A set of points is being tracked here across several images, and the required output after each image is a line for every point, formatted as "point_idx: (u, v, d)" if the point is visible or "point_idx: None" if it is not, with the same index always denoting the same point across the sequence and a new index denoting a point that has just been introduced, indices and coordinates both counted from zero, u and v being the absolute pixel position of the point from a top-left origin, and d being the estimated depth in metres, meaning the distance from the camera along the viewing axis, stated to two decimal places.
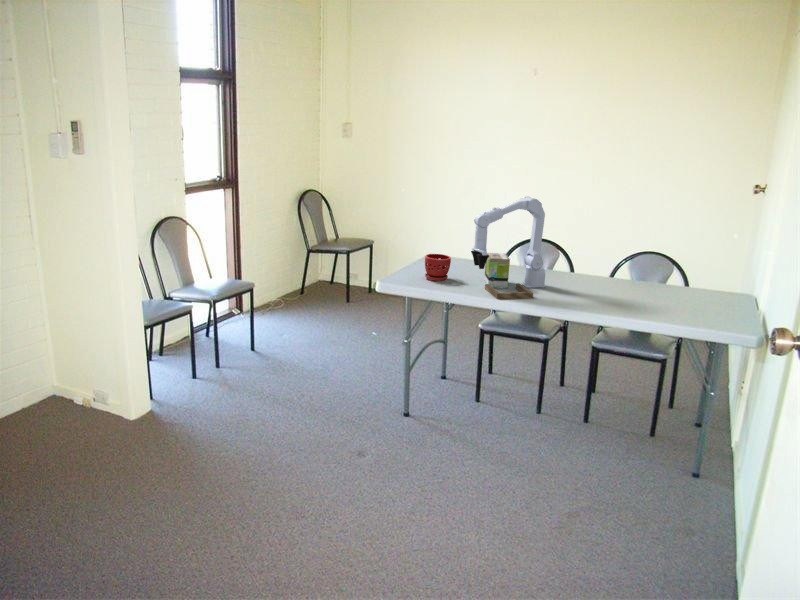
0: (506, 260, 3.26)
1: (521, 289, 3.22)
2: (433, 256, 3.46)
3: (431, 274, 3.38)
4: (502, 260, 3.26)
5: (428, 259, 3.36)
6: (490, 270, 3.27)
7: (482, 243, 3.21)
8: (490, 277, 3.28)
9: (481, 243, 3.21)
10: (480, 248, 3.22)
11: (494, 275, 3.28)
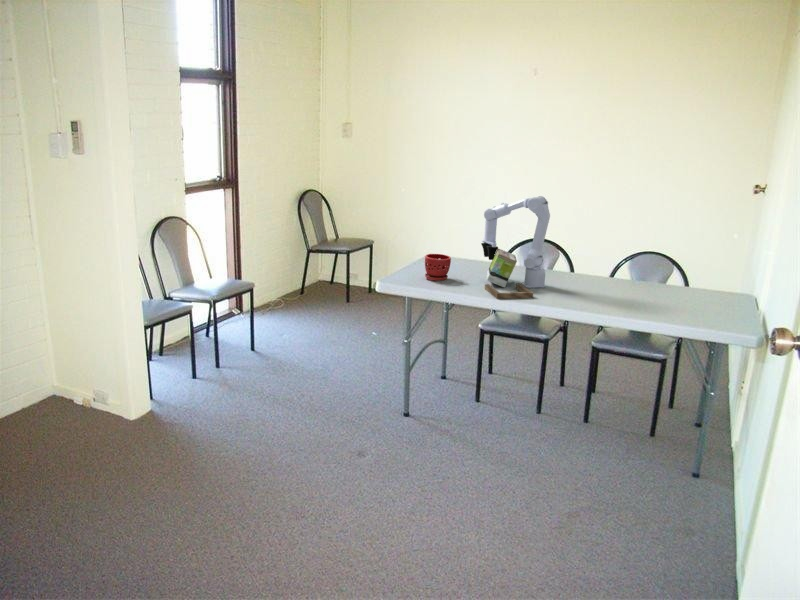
0: (513, 261, 3.26)
1: (521, 289, 3.22)
2: (433, 256, 3.46)
3: (431, 274, 3.38)
4: (509, 259, 3.26)
5: (428, 259, 3.36)
6: (494, 265, 3.27)
7: (492, 235, 3.40)
8: (492, 271, 3.28)
9: (490, 236, 3.40)
10: (490, 240, 3.41)
11: (496, 271, 3.28)
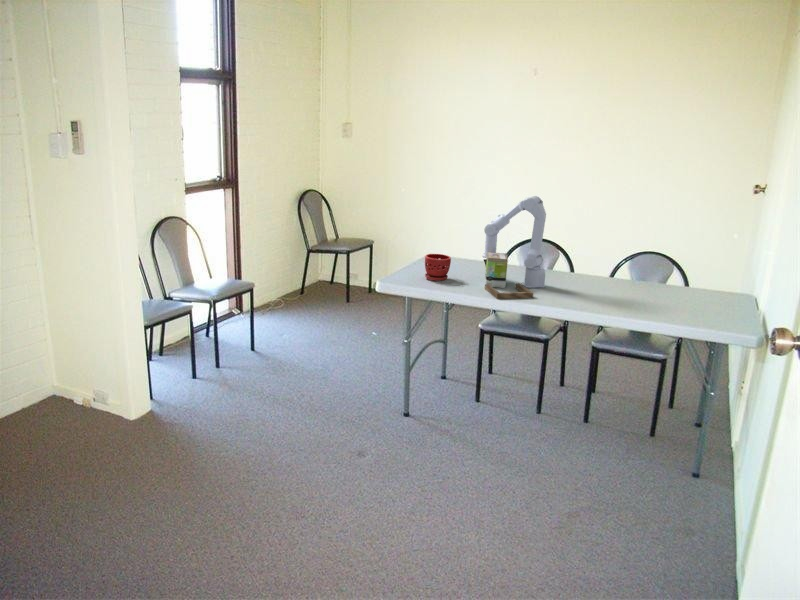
0: (504, 260, 3.26)
1: (521, 289, 3.22)
2: (433, 256, 3.46)
3: (431, 274, 3.38)
4: (500, 260, 3.26)
5: (428, 259, 3.36)
6: (488, 269, 3.28)
7: (492, 251, 3.40)
8: (488, 276, 3.29)
9: (491, 251, 3.40)
10: None
11: (492, 275, 3.28)
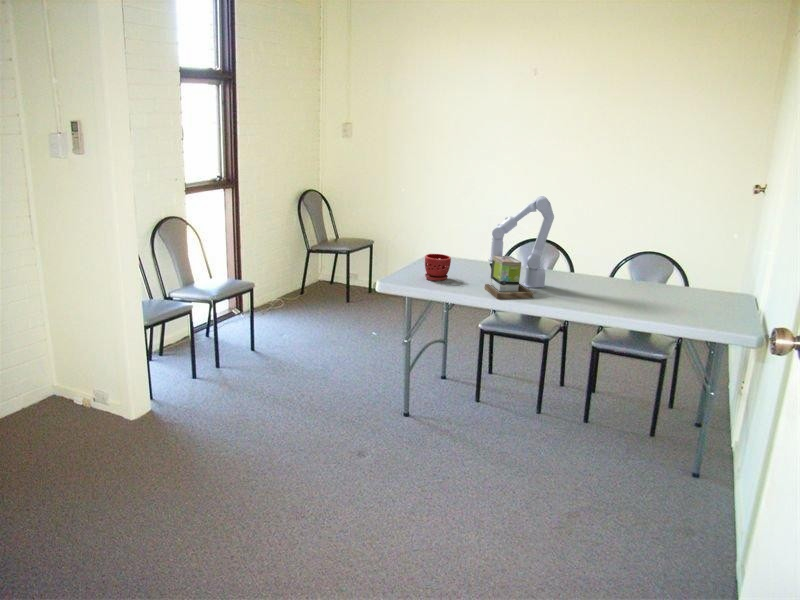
0: (518, 263, 3.19)
1: (521, 289, 3.22)
2: (433, 256, 3.46)
3: (431, 274, 3.38)
4: (514, 263, 3.19)
5: (428, 259, 3.36)
6: (502, 274, 3.19)
7: (498, 254, 3.31)
8: (502, 281, 3.20)
9: (497, 255, 3.31)
10: None
11: (506, 279, 3.20)
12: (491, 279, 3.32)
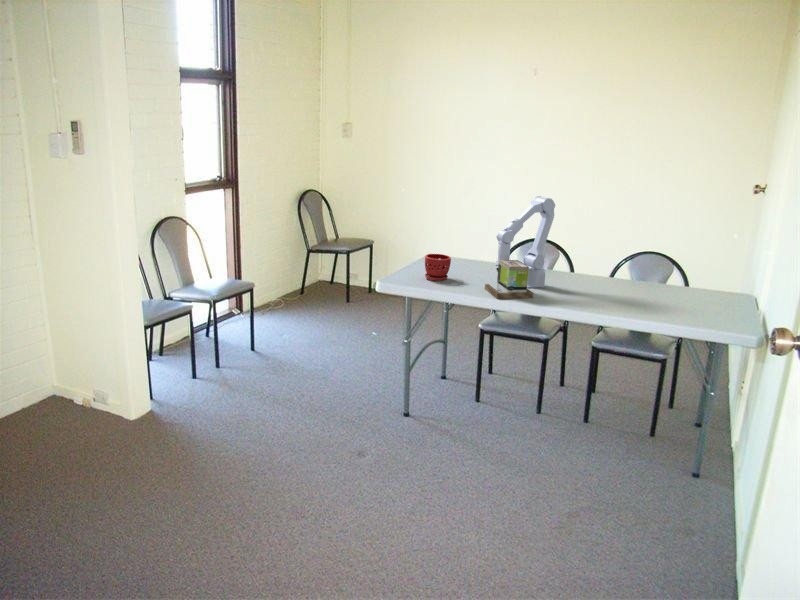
0: (525, 268, 3.10)
1: None
2: (433, 256, 3.46)
3: (431, 274, 3.38)
4: (521, 268, 3.10)
5: (428, 259, 3.36)
6: (509, 279, 3.10)
7: (505, 259, 3.22)
8: (509, 286, 3.11)
9: (504, 259, 3.22)
10: None
11: (513, 284, 3.11)
12: (498, 284, 3.23)
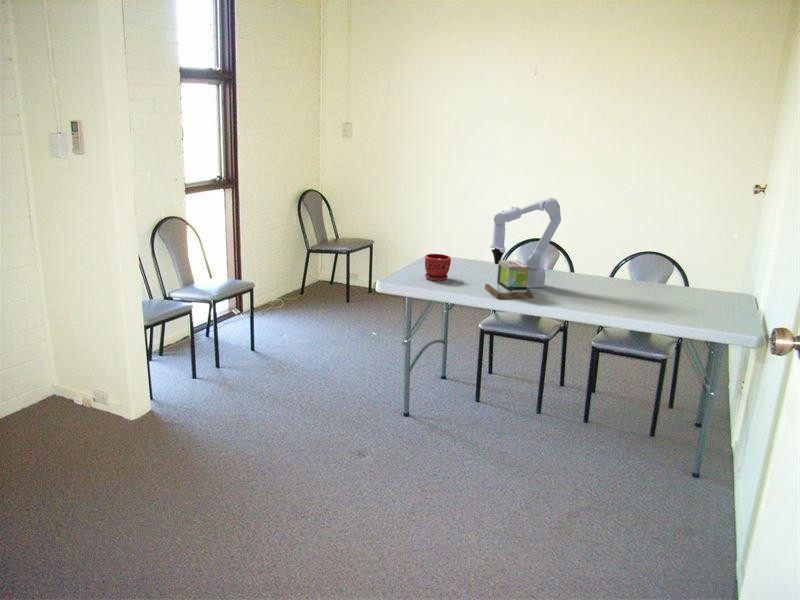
0: (525, 268, 3.11)
1: None
2: (433, 256, 3.46)
3: (431, 274, 3.38)
4: (521, 268, 3.10)
5: (428, 259, 3.36)
6: (509, 279, 3.10)
7: (501, 240, 3.31)
8: (509, 286, 3.11)
9: (499, 241, 3.31)
10: (498, 245, 3.31)
11: (513, 284, 3.11)
12: (498, 284, 3.24)
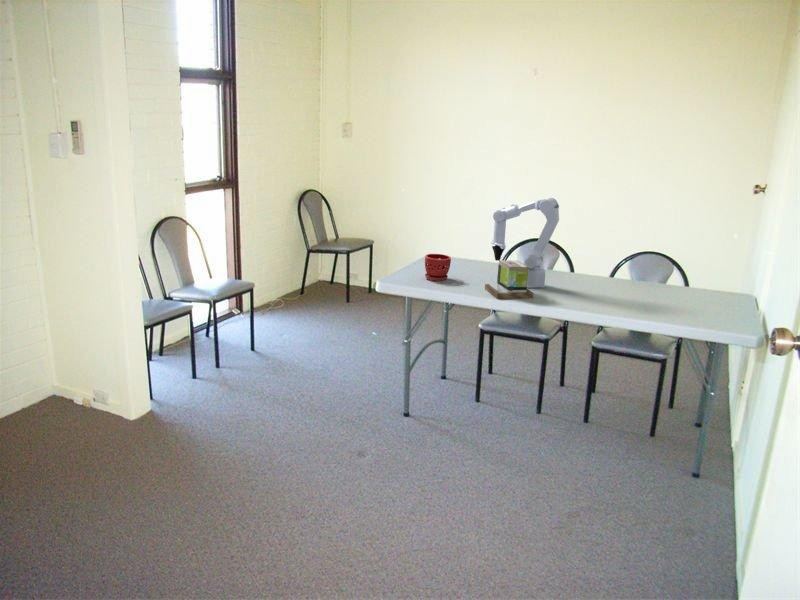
0: (525, 268, 3.11)
1: None
2: (433, 256, 3.46)
3: (431, 274, 3.38)
4: (521, 268, 3.10)
5: (428, 259, 3.36)
6: (509, 279, 3.10)
7: (501, 237, 3.36)
8: (509, 286, 3.11)
9: (499, 237, 3.36)
10: (499, 242, 3.37)
11: (513, 284, 3.11)
12: (498, 284, 3.24)
